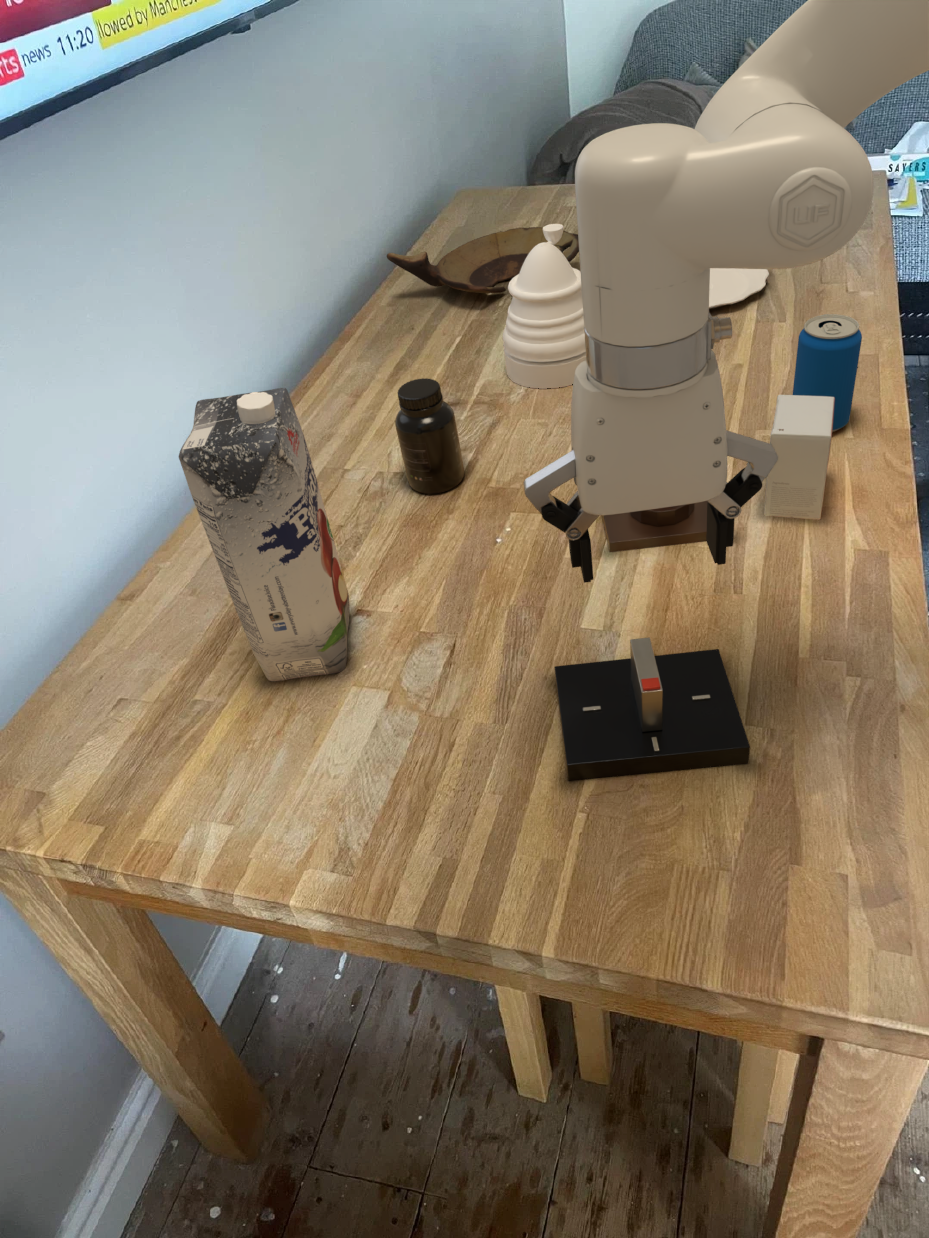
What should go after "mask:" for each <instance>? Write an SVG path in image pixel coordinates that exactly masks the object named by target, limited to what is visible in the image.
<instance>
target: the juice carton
mask: <svg viewBox="0 0 929 1238" xmlns="http://www.w3.org/2000/svg"><path fill="white" fill-rule="evenodd" d="M178 459H179V463H180V465H181V467H182V468H181V469H182V471H183V475H184V477H185V481H186V484H187V486H188V490H189V493H190V495H191V497H192V500H193V503H194V506H195V508H196V511H197V514H198V516H199V519H200V521H201V524H202V527H203V529H204V532H205V534H206V537H207V539H208V542H209V544H210V547H211V549H212V552H213V555H214V558H215V560H216V562H217V565H218V567H219V570H220V572H221V576H222V578H223V580H224V583H225V585H226V588H227V590H228V594H229V596H230V598H231V601H232V604H233V606H234V608H235V612H236V614H237V616H238V619H239V621H240V624H241V627H242V629H243V632H244V635H245V636H246V639H247V641H248V644H249V646H250V649H251V651H252V654H253V655H254V658H255V659H256V662H257V664H258V665H259V667H260V669H261V670H262V672H263V674H264V676H265V678H266V679H267V680H268V681H270V682H281V681H286V680H293V679H299V678H306V677H314V676H315V677H316V676H325V675H334V674H339V673H342V672H343V671H345V669H346V667H347V661H348V660H347V659H348V633H349V626H350V594H349V591H348V587H347V586H348V585H347V583H346V579H345V575H344V572H343V569H342V568H343V567H342V565H341V561H340V557H339V553H338V551H337V550H338V549H337V547H336V543H335V539H334V536H333V532H332V529H331V525H330V522H329V519H328V514H327V511H326V507H325V505H324V501H323V498H322V494H321V490H320V487H319V483H318V479H317V475H316V472H315V469H314V465H313V462H312V459H311V455H310V452H309V448H308V444H307V441H306V438H305V435H304V432H303V429H302V426H301V423H300V420H299V418H298V416H297V413H296V410H295V407H294V404H293V402H292V399H291V396H290V393H289V391H288V389H287V387H278V388H273V389H272V388H271V389H267V390H262V391H252V392H247V393H246V392H245V393H239V394H233V395H227V396H221V397H214V398H213V397H211V398H204V399H200V400H196V403H195V408H194V415H193V425H192V429H191V431H190V433H189V434H188V436H187V438H186V439H185V441H184V443H183V444H182V446H181V447H180V450H179V453H178Z"/></svg>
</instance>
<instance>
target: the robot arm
mask: <svg viewBox="0 0 929 1238" xmlns="http://www.w3.org/2000/svg"><path fill="white" fill-rule="evenodd" d="M926 72H929V0H806V2H804V3H803V4H802V5H801V6H799V8H797V9H796V10H795V11H794V12H793V13H792V14H791V15H790V16H789V17H788V18H787V19H786V20H785V21H783V23H782V24H781V25H779V26H778V28H777V29H775V30H774V32H773V33H772V34H771V35H770V36H769V37H768V38H767V39H766V40H765V41H764V42H762V44H761V45H759V47H757V49H756V50H755V51H754V52H753V53H752V54H751V55H750V56H749V57H748V58H747V59H746V60H745V61H744V62H742V64H741V65H740V66H739V67H738V68H737V69H736V70H735V71H734V73H732V75H730V77H729V78H728V79H727V80H726V81H725V82H724V83H723V84H722V86H720V88H719V89H718V90H717V91H716V93H715V94H714V95H713V97H712V98H711V99H710V100H709V102H708V103H707V105H706V107H705V108H704V110H702V113H701V114H700V116H699V118H697V119H698V120H697V122H696V124H695V126H694V128H693V127H690V126H686V125H681V124H678V123H677V124H676V123H666V122H657V123H642V124H635V125H629V126H624V127H621V128H616V129H613V130H611V131H608V132H605V133H603V134H602V135H599V136H596V137H595V138H594V139H592V140H590V141H589V142H588V144H586V145H585V146H584V148H583V149H582V150H581V151H580V153H579V155H578V157H577V160H576V163H575V168H574V193H575V194H574V195H575V209H576V220H577V221H576V224H577V234H578V241H579V252H578V253H579V268H580V269H579V271H581V287H582V302H583V312H584V315H583V317H584V333H585V348H586V361H584V362H582V363H580V364H579V365H578V366H577V368H576V370H575V375H574V381H573V385H572V390H571V391H572V392H571V403H570V447H571V448H570V449H571V450H570V451H569V452H567V453H565V454H564V455H562V456H561V457H559V458H557V459H555V460H554V461H553V462H551V463H549V464H547V465H546V466H545V467H542V468H541V469H540V470H538V471H536V472H535V473H533V474H531V475H530V476H528V477H526V478H525V479H524V480H523V484H522V485H523V493H524V495H525V497H526V498H527V500H528V501H529V502H530V504H531V505H532V506H533V507H534V508H535V509H536V510H537V511H538V512H539V513H540V515H541V517H542V520H544V521H545V522H547V523H548V524H550V525H551V526H552V527H554V528H556V529H558V530H560V531H561V532H562V533H565V537H566V538H567V539H568V547H569V558H570V564H571V568H573V569H574V568H575V569H576V568H580V570H581V575H582V580H583V583H584V584H585V583H591V582H592V581H593V580H594V568H593V566H594V565H593V556H592V555H593V554H592V541H591V536H590V531H589V529H590V527H591V526H592V525H593V524H594V522H596V520H597V519H598V518H599V517H600V516H602V515H612V514H621V513H628V512H635V511H643V510H650V509H658V508H665V507H672V506H679V505H686V504H692V503H698V502H703V501H708V502H707V533H706V540H707V541H706V544H707V546H708V549H709V552H710V555H711V557H712V560H713V562H714V564H717V565H718V566H719V565H725V564H726V563H727V548H729V547H733V546H734V539H735V538H734V537H735V535H734V534H735V519H736V518H738V517H739V516H740V515H741V513H742V507H744V505H746V503H748V502H749V501H750V500H751V499H752V498H753V497H754V496H756V494H758V493H759V492H760V491H761V489H762V488H763V482H764V480H765V479H767V476H768V474H769V473H770V471H771V470H772V468H773V467H774V465H775V463H776V462H777V460H778V455H777V453H776V451H775V449H774V448H773V446H772V445H771V444H770V442H766V441H763V440H759V439H756V438H752V437H750V436H747V435H743V434H740V433H736V432H733V431H730V430H727V423H726V411H725V400H724V399H725V398H724V392H723V385H722V379H721V374H720V367H719V364H718V359H717V355H716V353H715V351H714V350H713V349H714V346H715V344H720V342H721V341H725V340H731V339H732V337H733V322H732V319H731V317H730V316H728V317H720V318H719V317H718V316H713V315H712V314H711V312H710V309H709V287H710V268H736V269H767V270H784V269H785V270H786V269H792V268H800V267H805V266H808V265H811V264H814V263H817V262H820V261H823V260H824V259H827V258H829V257H831V256H832V255H834V254H835V253H837V252H839V251H840V250H841V249H842V248H844V247H845V246H846V245H847V244H848V243H849V242H850V241H851V240H852V239H853V238H854V237H855V236H856V235H857V233H858V232H859V231H860V229H861V228H862V226H863V225H864V223H865V221H866V219H867V217H868V215H869V212H870V210H871V206H872V204H873V197H874V191H875V190H874V188H875V184H874V182H875V181H874V173H873V168H872V164H871V162H870V160H869V157H868V155H867V153H866V151H865V150H864V148H863V146H862V145H861V144H860V143H859V141H858V140H857V139H856V138H855V137H854V136H853V135H852V134H851V133H850V132H849V131H848V130H847V129H845V128H846V127H847V126H848V125H849V124H851V122H852V121H853V120H855V119H856V118H857V117H858V116H859V115H861V114H862V113H863V112H864V111H865V110H867V109H868V108H869V107H871V106H872V105H873V104H875V103H876V102H877V101H879V100H880V99H882V98H883V97H884V96H886V95H888V94H889V93H891V92H892V91H894V90H895V89H897V88H899V87H900V86H901V85H903V84H905V83H907V82H909V81H910V80H912V79H914V78H916V77H918V76H920V75H922V74H924V73H926ZM728 457H730V458H733V459H735V460H740V461H744V462H746V463H745V465H746V466H745V467H743V468H742V469H741V470H739V472H737V473H736V474H735V475H734V476H733V477H732V478H731V479H730V480H729V481H727V480H728ZM572 479H573V482H574V485H576V489H577V490H576V491H575V493H574V494H573V495H572V497H571V498H570V499H569V500H568V502H567V503H565V502H564V501H562V500H560V499H559V498H558V497H556V496H554V495H552V494H551V492H552V491H554V490H556V489H557V488H559V487H561V486H562V485H564V484H566V483H567V482H569V481H570V480H572Z"/></svg>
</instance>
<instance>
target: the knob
mask: <svg viewBox="0 0 929 1238" xmlns="http://www.w3.org/2000/svg"><path fill="white" fill-rule="evenodd" d="M629 646H630V647H629V648H630V649H629V653H630V658H631V681H632V686H633V690H634V695H635V700H636V705H637V709H638V714H639V719H640V724H641V729H642V732H646V731H656V730H662V729H663V689H662V685H661V681H660V677H659V673H658V669H657V664H656V660H655V656H656V655H655V652H654V649H653V645H652V640H651V637H640V638H639V637H638V638H631V639H630V640H629Z"/></svg>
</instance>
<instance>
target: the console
mask: <svg viewBox="0 0 929 1238" xmlns="http://www.w3.org/2000/svg"><path fill="white" fill-rule="evenodd" d="M654 656H655V660H656V664H657V669H658V673H659V677H660V681H661V685H662V689H663V729H662V730H656V731H646V732H642V729H641V724H640V719H639V714H638V709H637V705H636V700H635V695H634V690H633V686H632V681H631V657H629V658H621V659H610V660H602V661H592V662H591V661H590V662H584V663H573V664H564V665H555V666H554V677H555V678H554V680H555V686H556V694H557V695H556V696H557V701H558V702H557V703H558V711H559V718H560V727H561V735H562V744H563V751H564V757H565V759H564V760H565V766H566V767H565V768H566V775H567V782H575V781H576V782H577V781H585V780H596V779H606V778H607V779H608V778H618V777H628V776H638V775H648V774H649V775H650V774H659V773H668V772H679V771H680V772H681V771H690V770H700V769H708V768H709V769H710V768H711V769H712V768H722V767H731V766H741V765H749V764H750V763H749V761H750V754H751V753H750V752H751V751H750V750H751V745H750V741H749V740H748V735H747V733H746V730H745V726H744V723H743V719H742V717H741V715H740V711H739V708H738V705H737V702H736V699H735V696H734V693H733V692H734V691H733V689H732V687H731V684H730V680H729V677H728V673H727V670H726V668H725V665H724V664H725V663H724V661H723V657H722V656H721V651H720V649H719V648H714V649H705V650H696V651H687V652H686V651H685V652H677V653H668V654H658V655H654Z"/></svg>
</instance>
